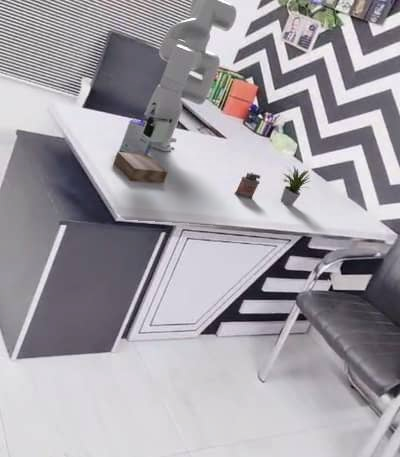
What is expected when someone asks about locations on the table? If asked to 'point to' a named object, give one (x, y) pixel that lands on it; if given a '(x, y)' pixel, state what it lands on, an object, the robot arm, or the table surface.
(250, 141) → the table surface
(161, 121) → the sage box
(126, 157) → the walnut block
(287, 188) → the house plant
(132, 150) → the ink cartridge box
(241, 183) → the lighter
